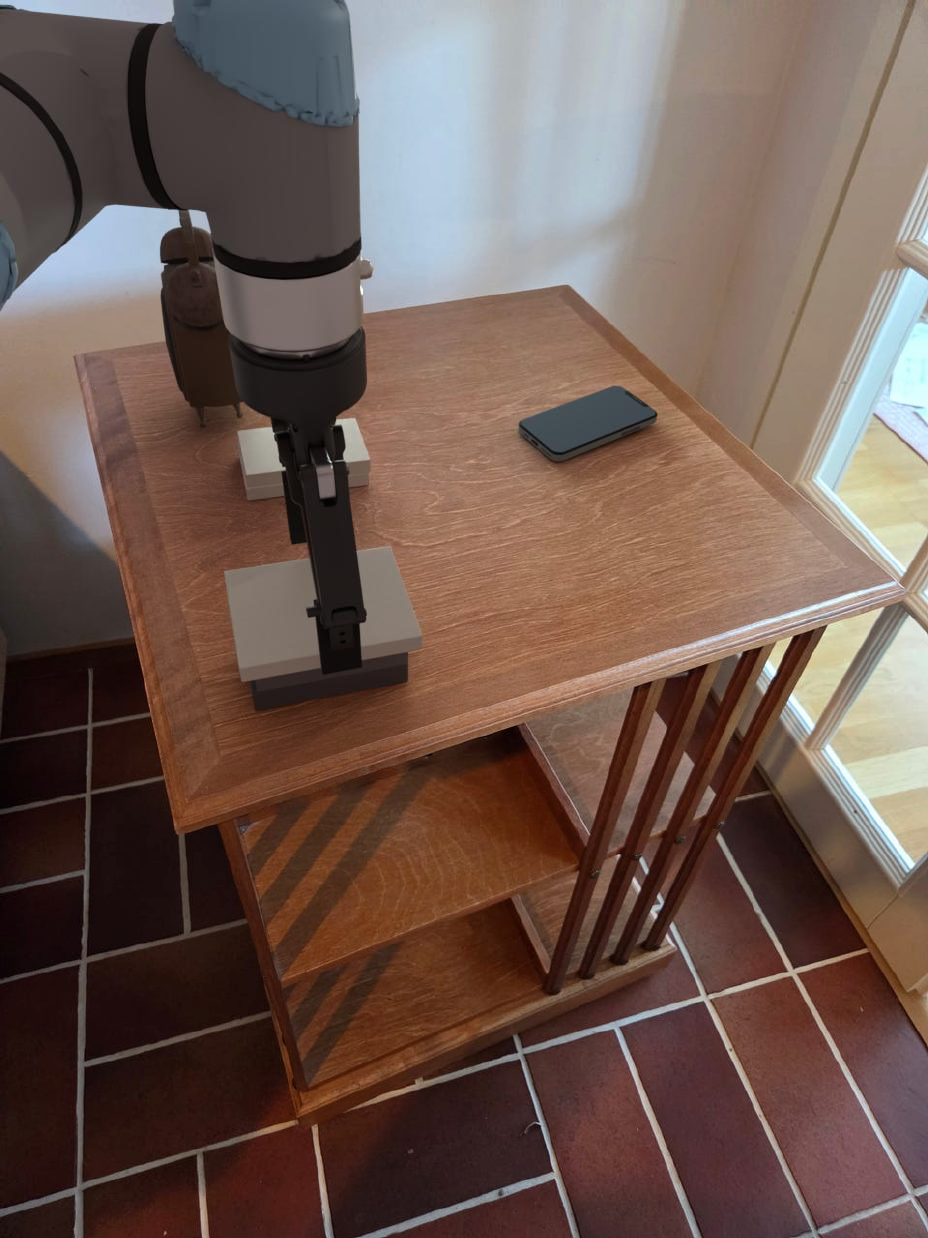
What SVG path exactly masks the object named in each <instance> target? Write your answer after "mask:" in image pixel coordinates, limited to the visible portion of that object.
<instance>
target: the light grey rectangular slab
mask: <svg viewBox="0 0 928 1238" xmlns="http://www.w3.org/2000/svg"><path fill="white" fill-rule="evenodd" d="M357 558H358V565H359V573H360V580H361V587H362V595H363V602H364V608H366V612H367V616H366V622H365V623H360V638H361V656H362V660H366V659H372V658H377V657H382V656H388V655H393V654H399V653H404V652H408V653H410V652H414V651H420V650H422V649H423V642H424V641H423V639H424V638H423V637H424V635H423V633H422V630H421V628H420V627H421V626H420V624H419V622H418V617H417V616H416V613H415V610H414V608H413V607H414V606H413V605H412V602H411V599H410V596H409V594H408V591H407V588H406V585H405V582H404V579H403V577H402V574H401V571H400V568H399V565H398V563H397V559H396V557H395V554H394V552H393V548H392V546H391V545H389V546H381V547H374V548H367V549H361V550H357ZM223 576H224V582H225V589H226V595H227V602H228V608H229V616H230V622H231V629H232V634H233V640H234V648H235V653H236V660H237V661H236V662H237V667H238V673H239V677H240V681H241V683H246V682H250V681H252V680H257V679H262V678H268V677H273V676H279V675H284V674H290V673H295V672H301V671H306V670H312V669H317V668H321V664H320V655H319V646H318V637H317V628H316V619H315V617H311V618H308V616H307V612H306V607H312V606H314V601H313V600H314V599H317V598H316V592H315V586H314V580H313V575H312V569H311V563H310V557H309V558H301V559H296V560H295V559H294V560H288V561H282V562H275V563H268V564H263V565H255V566H249V567H241V568H236V569H230V570H224V571H223Z"/></svg>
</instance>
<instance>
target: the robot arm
mask: <svg viewBox="0 0 928 1238" xmlns="http://www.w3.org/2000/svg"><path fill="white" fill-rule="evenodd" d="M172 5H173V15H172V18H171V21H166V22H164V23H157V22H151V23H150V22H141V21H131V20H122V19H121V20H120V19H111V18H101V17H93V16H82V15H73V14H72V15H71V14H63V13H62V14H61V13H52V12H41V11H32V10H28V9H24V8H19V9H18V8H16V6H14V5H11V4H0V312H1V311H2V310H3V308H4V306H5V304H6V303H7V301H9V300H10V299H11V297H12V296H13V293H14V292H15V291H16V290H17V289H18V288H19V287H20V286H21V285H22V284H23V283H24V282H25V281H27V279H28V278H29V277H30V276H31V275H33V273H34V272H35V271H36V270H37V269H39V268H40V266H42V265H43V264H44V263H45V261H46V260H48V259H49V258H50V257H51V255H53V254H55V253H57V251H59V250H60V249H61V248H62V247H63V246H65V245H66V244H67V243H69V242H70V241H71V240H72V239H73V238H74V237H75V236H77V234H78V233H79V232H80V231H82V230H83V229H84V228H85V227H86V226H87V225H88V224H89V223H90V222H91V221H93V219H94V218H95V217H97V215H99V213H101V211H103V209H105V208H106V207H109V206H124V207H125V206H127V207H137V208H150V209H161V210H168V211H171V210H172V211H178V210H182V211H186V210H189V211H198V212H202V213H205V216H206V220H207V223H208V227H209V231H210V232H209V233H210V234H211V238H212V245H213V248H212V249H213V257H214V263H215V269H216V276H217V282H218V288H219V294H220V300H221V307H222V313H223V319H224V323H225V326H226V328H227V329H228V330H229V332H230V334H229V338H228V341H229V348H230V354H231V360H232V367H233V373H234V379H235V385H236V389H237V392H238V394H239V396H240V398H241V399H242V401H243V402H242V403H244V404H245V405H246V406H247V407H249V408H250V409H251V410H253V411H255V412H257V413H258V414H260V415H262V416H265V417H267V418H269V419H270V424H271V427H272V430H273V433H275V435H274V439H275V441H276V442H277V447H278V453H279V462H280V463H281V464H282V467H285V468H286V471H281V473H282V480H283V488H284V496H283V497H284V503H285V511H286V517H287V518H286V519H287V525H288V533H289V540H290V545H291V546H293V545H301V544H306V546H307V551H308V557H309V558H310V563H311V569H312V575H313V580H314V586H315V592H316V598H317V599H314V600H313V601H314V606H312V607H306V612H307V616H308V618H311V617H315V619H316V628H317V637H318V646H319V655H320V664H321V670H322V674H323V675H326V674H331V673H336V672H341V671H347V670H352V669H357V668H362V656H361V638H360V623H365V622H366V616H367V612H366V608H364V602H363V595H362V587H361V580H360V573H359V565H358V558H357V551H358V550H357V543H356V536H355V530H354V521H353V514H352V507H351V496H350V487H349V483H348V475H349V467H348V466H347V464H346V461H345V460H344V457H343V453H344V451H345V449H346V444H345V438H344V432H343V427H342V425H341V424H338V425H335V423H336V420H337V417H338V416H339V415H341V414H342V413H344V412H345V411H348V410H350V409H351V408H353V407H354V406H355V405H357V403H358V402H360V400H361V399H362V397H363V396H364V394H365V392H366V389H367V387H368V370H367V365H368V363H367V344H366V343H367V341H366V340H367V338H366V332H365V329H364V328H363V326H362V325H363V323H364V316H365V314H364V313H365V312H364V290H363V287H362V285H361V283H362V282H361V280H363V281H364V280H368V279H371V278H372V276H373V275H374V267H373V264H372V263H371V261H370V260H369V259H363V258H362V247H363V246H362V245H363V244H362V230H361V229H362V225H361V223H362V221H361V181H360V176H361V175H360V113H361V100H360V98H359V96H358V92H357V86H356V84H357V83H356V74H355V64H354V52H353V51H354V50H353V38H352V26H351V16H350V12H349V8H348V5H347V3H346V0H172Z"/></svg>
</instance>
